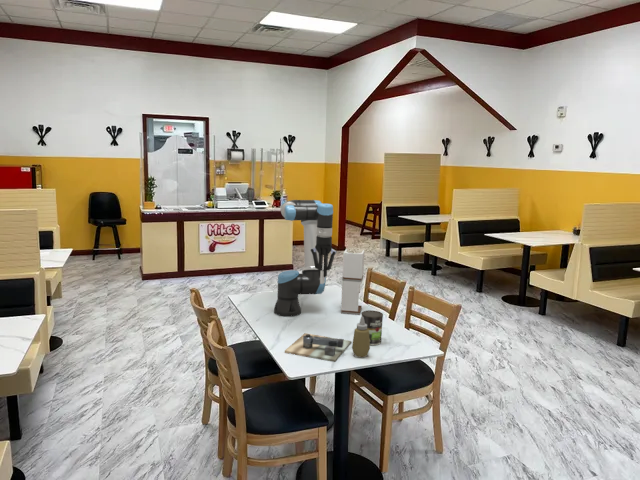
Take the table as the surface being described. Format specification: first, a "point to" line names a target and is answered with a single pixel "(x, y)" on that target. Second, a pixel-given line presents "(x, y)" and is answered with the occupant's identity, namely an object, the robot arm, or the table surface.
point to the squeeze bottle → (361, 339)
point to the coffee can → (373, 325)
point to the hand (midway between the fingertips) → (322, 283)
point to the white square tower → (352, 282)
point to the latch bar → (321, 341)
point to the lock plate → (317, 349)
